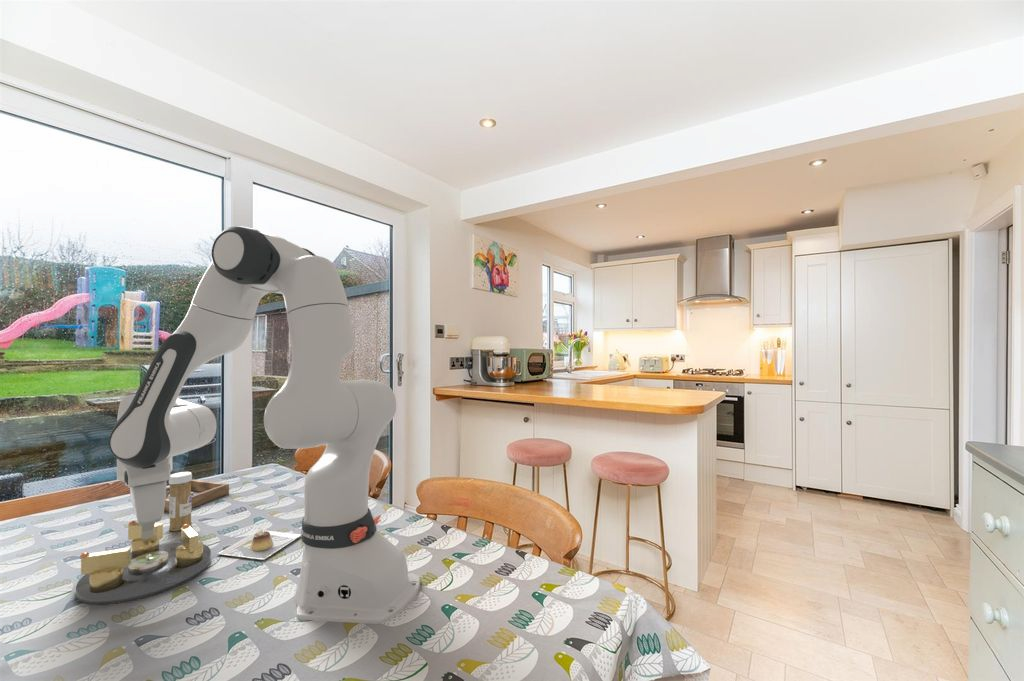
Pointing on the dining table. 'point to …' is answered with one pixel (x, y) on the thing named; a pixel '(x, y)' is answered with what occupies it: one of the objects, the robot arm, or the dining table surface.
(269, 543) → the dessert
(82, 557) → the knob left
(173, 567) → the plate
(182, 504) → the sprinkles bottle
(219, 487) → the wooden tray
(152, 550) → the knob far
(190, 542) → the knob near
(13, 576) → the dining table surface
